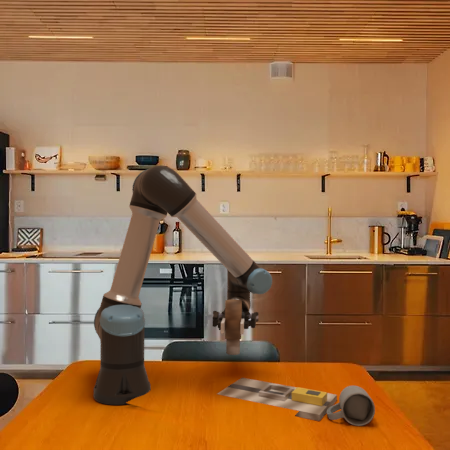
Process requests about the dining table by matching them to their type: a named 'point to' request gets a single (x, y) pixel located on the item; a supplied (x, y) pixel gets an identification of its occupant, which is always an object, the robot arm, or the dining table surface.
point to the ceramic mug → (353, 406)
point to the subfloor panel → (276, 397)
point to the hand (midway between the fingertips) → (232, 328)
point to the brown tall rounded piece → (233, 326)
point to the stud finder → (309, 396)
